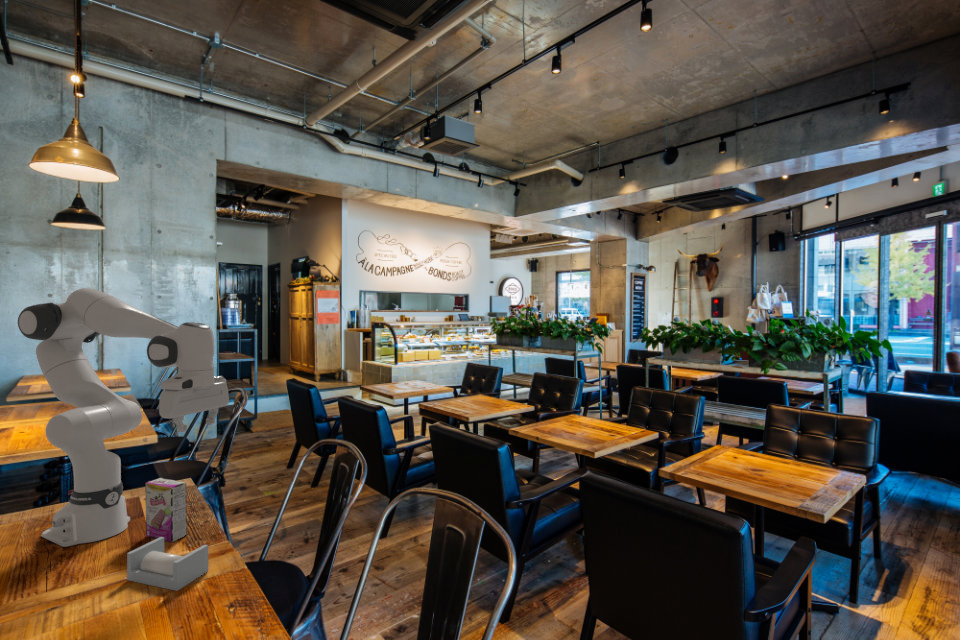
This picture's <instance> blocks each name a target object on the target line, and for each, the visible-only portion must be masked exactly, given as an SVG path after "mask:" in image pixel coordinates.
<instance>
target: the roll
mask: <svg viewBox="0 0 960 640" xmlns="http://www.w3.org/2000/svg"><path fill="white" fill-rule="evenodd" d="M183 556H184V555H179V554H172V553H168V552H164V553H163V552H158V551H151V552H149V553H148V554H146V555H145V557H144V558H143V560H142V562H141V566H140V567H141V570H142V571H146V572H150V573H155V574H160V575H165V576H170V577H173V562H174V561H176V560H178V559H180V558H181V557H183Z"/></svg>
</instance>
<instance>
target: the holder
mask: <svg viewBox="0 0 960 640" xmlns="http://www.w3.org/2000/svg"><path fill="white" fill-rule="evenodd" d="M151 551H158V552H163V553H165V541H164V537H159V538H157V539H156V538H154V540H151V541H149V542H147V543H145V544H143V545H141V546H139V547H137V548H135V549H133V550H130V551H129V552H127V553H126V557H127V558H126V569H127V570H126V572H127V573H126V575H127V576H126V577H127V579H126V580H127V581H129V582H130V581H131V582H134V583H140V584H143V585H148V586H154V587H158V588H163V589H165V590H166V589H167V590H170V591H171V590H172V591H175V592H178V591H179V590H181V589H183V588H185V587H186V586H187V585H189V584H191V583H193V582H194V581H195V580H197V579H199V578H201V577H202V576H203V575H205V574H206V572H207V573H208V572H209V544H203V545H201V546H200V547H198V548H196V549H194V550H192V551H191V552H189V553H187V554H185V555H182V556H183V557H181V558H180V559H178V560H176V561H174V562H173V577H170V576H165V575H160V574H155V573H150V572H146V571H142V570H141V567H140V566H141V562H142V560H143V558H144V557H145V555H146V554H148V553H149V552H151ZM204 573H205V574H204ZM201 575H202V576H201ZM198 577H199V578H198ZM196 578H197V579H196Z"/></svg>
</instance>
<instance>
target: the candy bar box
mask: <svg viewBox="0 0 960 640" xmlns="http://www.w3.org/2000/svg"><path fill="white" fill-rule="evenodd" d="M187 523H188V522H187V482H185V481H179V480H174V479H168V478H163V477H159V478H156V479H152V480H148V481H147V482H145V537H147V538H150V539H151V538H152V539H157V538H159V537H164V542H169V543H174V541H175V542H177V541H178V539H179V540H180V538H181V539H183V538H185V537H186V536H187V534H188V533H187V530H188V527H187ZM185 535H186V536H185ZM184 536H185V537H184ZM182 537H183V538H182ZM176 540H177V541H176Z"/></svg>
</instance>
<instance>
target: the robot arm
mask: <svg viewBox="0 0 960 640" xmlns="http://www.w3.org/2000/svg"><path fill="white" fill-rule="evenodd" d="M17 327H18V329H19V331H20V332H21V334H22V335H23V336H24V337H25V338H27V339H30V340H34V341H41V342H39V344H38V345H36V349H35V355H36V359H37V362H38V365H39V367H40V370H41V372H42V375H43V376H44V378H45V380H46V381H47V383H48V385H49V387H50V389H51V391H52V392H53V394H54V396H55V398H56V399H57V400H59V401H60V402H63V403H65V404H69V405H72V406H74V407H75V408H72V409H68V410H66V411H64V412H61V413H58V414H56V415H54V416H52V417H51V418H50V419H49V420H48V421H47V424H46V427H45V437H46V439H47V440H48V442H49V443H50V444H51V445H52V446H53V447H56V448H58V449H60V450H62V451H63V452H64V453H66V455H67V457H68V458H69V460H70V462H71V465H72V472H73V489H70V490H68V491H67V492H68V494H67V495H68V496H69V495H70V497H69V501H68V502H67V503H66V504H65V505H64V506H62V507H61V508H60V509H59V510H57V512H55V513H54V514H53V517H52V522H51V523H52V527H50V528H47V529H46V530H44V531H43V532H41V537H42V538H44V539H46V540H48V541H50V542H52V543H54V544H56V545H57V546H60V547H62V548H63V547H64V548H66V547H71V546H76V545H78V544H79V545H80V544H87V543H94V542H98V541H102V540H106V539H108V538H111V537H114V536H117V535H119V534H121V533H122V532H124V531H125V530H126V529H127V528H128V527H129V525H128V524H129V522H130V521H131V516H128V512H127V511H128V510H127V503H126V502H127V501H126V498H125V496H124V495H123V493H124V490H123V489H124V486H123V482H122V480H121V479H122V475H121V473H122V470H121V469H122V468H121V467H122V465H121V457H120V456H119V455H118V454H117V453H114V452H112V451H108V450H107V448H106V446H105V440H107V439H110V438H111V439H112V438H114V437H115V438H116V437H119V436H122V435H125V434H127V433H129V432H131V431H134V430H135V429H136V428H138V427H139V425H140V424H142V423H141V422H142V420H143V412H142V409H141V407H140V406H139V404H137V403H136V402H135V401H133V400H129V399H126V398H124V397H121V396H120V395H118V394H117V393H116V392H114V390H112V389H110V388H109V387H108V386H106V385H105V384H104V382H103V381H102V380H101V378H100V377H99V375H98V374H97V373H96V371H95V369H94V367H93V366H92V364H91V362H90V361H89V359H88V357H87V356H86V354H85V353H84V351H83V343H85V344H86V343H87V344H88V343H92V342H94V340H95V339H96V337H99V336H100V335H103V336H106V337H111V338H136V339H137V338H141V339H143V338H144V339H150V341H149V342H148V344H147V347H146V357H147V358H148V361H149V363H151V364H152V365H153V366H155V367H158V368H162V369H164V368H175V367H176V368H177V367H178V370H177V372H178V373H177V374H175V375H173V376H171V377H169V378H167V379H165V380H162V382H161V383H160V389H161V390H163V391H161V393H160V395H159V407H158V408H159V409H158V412H159V416H160V417H161V418H162V419H170V420H171V419H172V421H173V422H174V424H175V425H176V426H177V427H176V429H177V430H176V431H177V432H178V433H185V432H186V431H188V430H187V429H188V425H187V424H184V422H183V420H184V419H185V418H184V417H185V416H188V415H189V416H190V415H193V414H197V413H202V412H205V411H208V412H209V415H208V417H207V418H206V419H205V424H206V425H207V426H208V425H209V426H210V425H214V424H215V423H216V418H217V417H216V416H217V415H218V414H219V409H221V408H224V407H227V406H228V405H229V403H230V396H229V388H228V385H227V379H226V378H225V377H224V376H223V375H219V376H215V364H214V361H213V360H214V356H215V337H214V333H213V332H214V331H213V329H212V327H211V326H210V325H208V324H205V323H200V322H195V321H193V322H192V321H189V322H188V321H187V322H183V323H181V324H180V325H179V326H177V325H175V324H173V323H171V322H168V321H166V320H164V319H161V318H159V317H157V316H154V315H152V314H149V313H148V312H144V311H142V310H141V309H138V308H136V307H135V306H132V305H131V304H129V303H126V302H124V301H122V300H120V299H119V298H117V297H115V296H113V295H110V294H108V293H107V292H103V291H101V290H97V289H95V288H91V287H90V288H88V287H86V288H85V287H83V288H79V289H77V290H73V292H71V293H70V295H68V297H67V298H66V300H65V302H63V303H59V302H57V303H53V302H47V303H46V302H44V303H37V304H31V305H30V306H26V307H25V308H23V310H21V312H20V313H19V314H18V317H17Z"/></svg>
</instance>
